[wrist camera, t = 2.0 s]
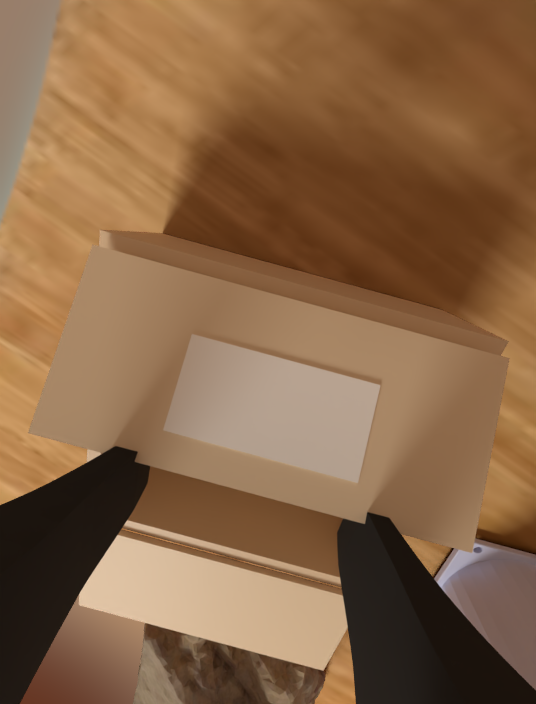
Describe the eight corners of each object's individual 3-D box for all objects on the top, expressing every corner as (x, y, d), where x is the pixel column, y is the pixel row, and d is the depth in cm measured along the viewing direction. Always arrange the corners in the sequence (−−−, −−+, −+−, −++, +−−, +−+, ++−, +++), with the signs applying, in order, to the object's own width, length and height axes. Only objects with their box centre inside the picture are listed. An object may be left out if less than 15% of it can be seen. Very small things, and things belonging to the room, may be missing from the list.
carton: (442, 309, 15) (514, 344, 10) (320, 573, 22) (326, 671, 17) (162, 233, 15) (94, 229, 10) (126, 520, 22) (75, 604, 17)
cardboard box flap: (502, 358, 10) (510, 358, 10) (465, 548, 9) (473, 554, 9) (97, 248, 10) (91, 243, 10) (35, 431, 9) (26, 433, 9)
